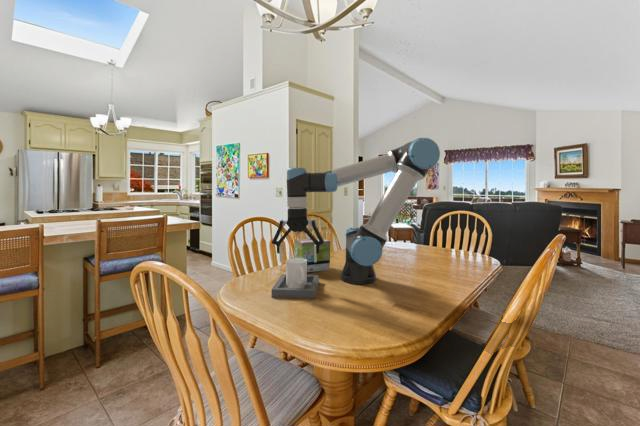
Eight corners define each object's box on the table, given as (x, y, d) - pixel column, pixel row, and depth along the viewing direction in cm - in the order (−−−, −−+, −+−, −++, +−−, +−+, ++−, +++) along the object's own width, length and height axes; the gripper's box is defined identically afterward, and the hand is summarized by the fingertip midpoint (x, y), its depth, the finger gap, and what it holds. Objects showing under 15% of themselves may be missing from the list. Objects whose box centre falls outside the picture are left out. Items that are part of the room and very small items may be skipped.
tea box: (302, 274, 151) (302, 242, 150) (293, 268, 160) (293, 239, 159) (330, 270, 158) (330, 240, 157) (320, 265, 167) (321, 237, 166)
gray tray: (318, 282, 139) (319, 275, 139) (314, 298, 119) (314, 290, 119) (281, 281, 140) (281, 274, 140) (271, 297, 120) (271, 289, 120)
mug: (313, 290, 125) (313, 263, 124) (293, 292, 122) (293, 265, 121) (302, 281, 136) (302, 257, 135) (283, 283, 133) (283, 258, 132)
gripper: (329, 206, 129) (330, 259, 131) (267, 207, 131) (269, 259, 133) (328, 208, 122) (329, 264, 124) (263, 209, 124) (264, 263, 126)
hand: (298, 261), depth 128 cm, fingers open, 13 cm apart
